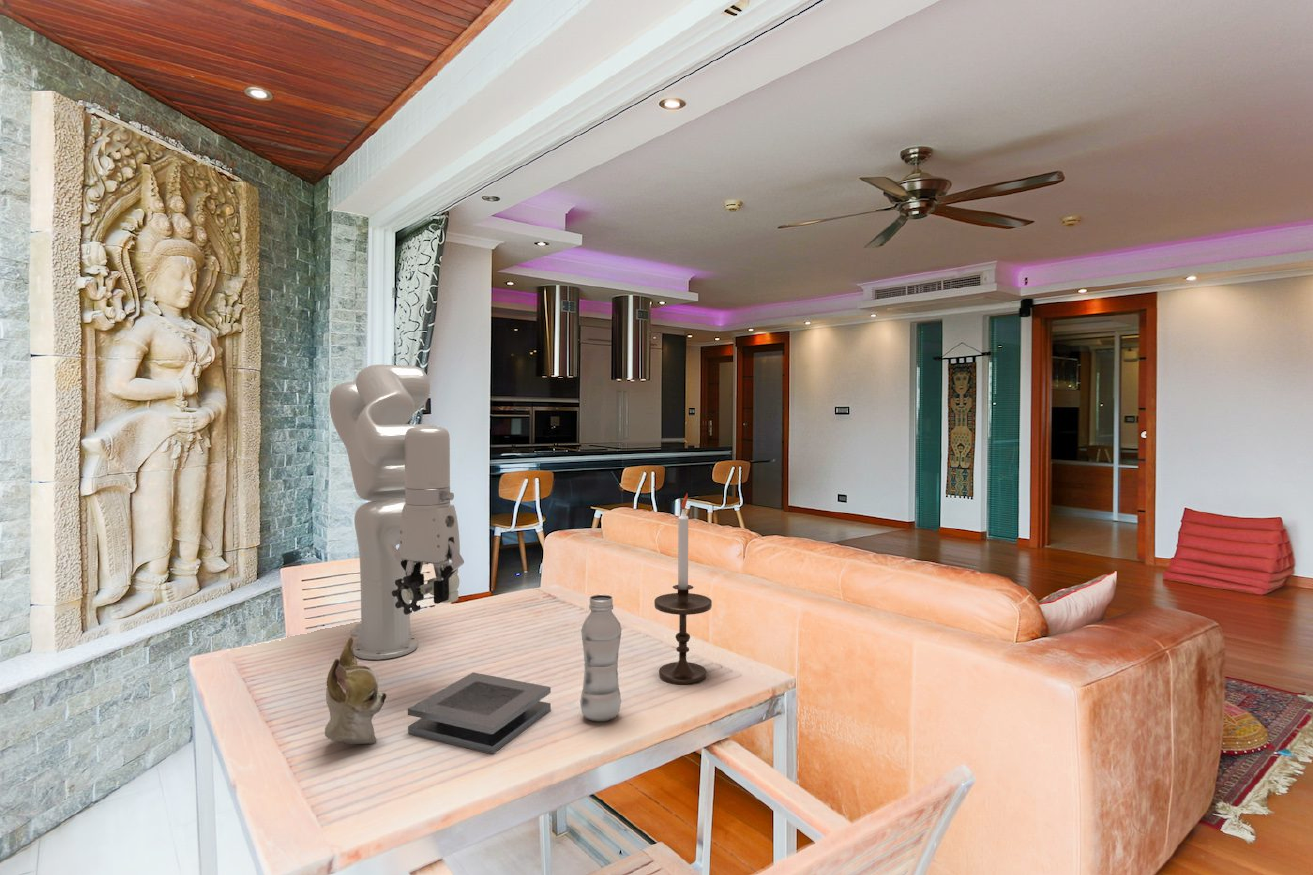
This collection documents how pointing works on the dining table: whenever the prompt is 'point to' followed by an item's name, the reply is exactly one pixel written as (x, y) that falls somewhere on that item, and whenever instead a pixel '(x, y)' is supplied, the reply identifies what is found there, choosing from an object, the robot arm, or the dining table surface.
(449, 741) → the stand
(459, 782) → the dining table surface
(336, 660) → the ceramic sculpture
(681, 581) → the candlestick
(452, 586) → the valve
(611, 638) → the plastic bottle
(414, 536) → the robot arm
